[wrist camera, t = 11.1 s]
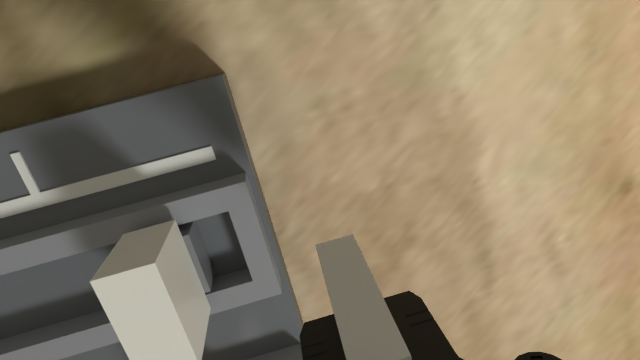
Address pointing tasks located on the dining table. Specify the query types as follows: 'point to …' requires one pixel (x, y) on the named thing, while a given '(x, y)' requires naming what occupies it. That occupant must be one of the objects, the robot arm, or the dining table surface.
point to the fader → (158, 291)
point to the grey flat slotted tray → (137, 223)
